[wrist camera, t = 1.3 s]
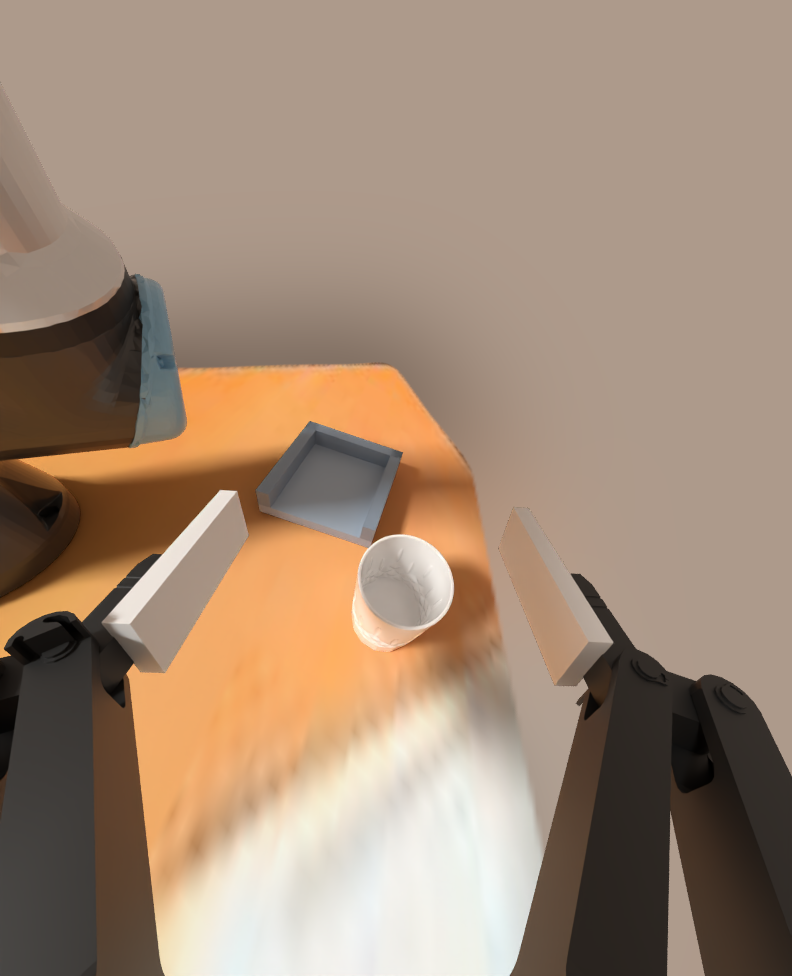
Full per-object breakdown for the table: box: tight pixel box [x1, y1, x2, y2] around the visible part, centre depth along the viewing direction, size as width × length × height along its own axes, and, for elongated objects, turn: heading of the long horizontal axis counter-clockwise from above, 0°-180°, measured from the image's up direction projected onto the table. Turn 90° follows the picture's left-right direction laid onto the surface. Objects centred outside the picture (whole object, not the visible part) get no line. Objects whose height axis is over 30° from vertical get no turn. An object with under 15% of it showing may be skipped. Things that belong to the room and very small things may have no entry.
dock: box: [255, 421, 403, 548], centre depth 39 cm, size 14×14×4 cm
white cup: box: [352, 534, 454, 652], centre depth 27 cm, size 8×8×10 cm
